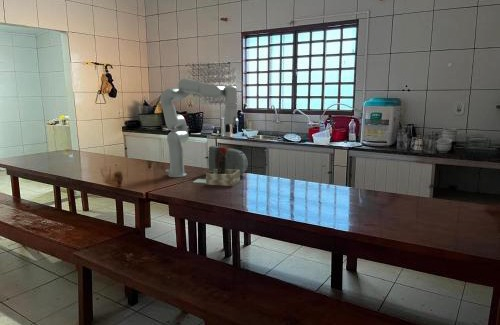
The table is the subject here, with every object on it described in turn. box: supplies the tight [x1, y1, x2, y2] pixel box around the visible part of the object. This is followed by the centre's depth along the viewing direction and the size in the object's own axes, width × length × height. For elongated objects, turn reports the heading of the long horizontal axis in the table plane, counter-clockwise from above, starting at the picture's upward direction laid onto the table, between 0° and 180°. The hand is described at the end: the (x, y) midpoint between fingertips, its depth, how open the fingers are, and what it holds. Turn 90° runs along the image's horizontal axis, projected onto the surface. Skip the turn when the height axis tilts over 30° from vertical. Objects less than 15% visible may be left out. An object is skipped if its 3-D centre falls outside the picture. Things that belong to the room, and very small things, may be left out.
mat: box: [192, 178, 206, 184], centre depth 235 cm, size 9×9×1 cm
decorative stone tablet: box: [207, 145, 249, 176], centre depth 252 cm, size 19×6×30 cm
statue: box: [217, 152, 226, 174], centre depth 230 cm, size 7×7×20 cm
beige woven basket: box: [205, 169, 241, 187], centre depth 231 cm, size 18×15×7 cm
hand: (231, 132), depth 232 cm, fingers open, 9 cm apart
